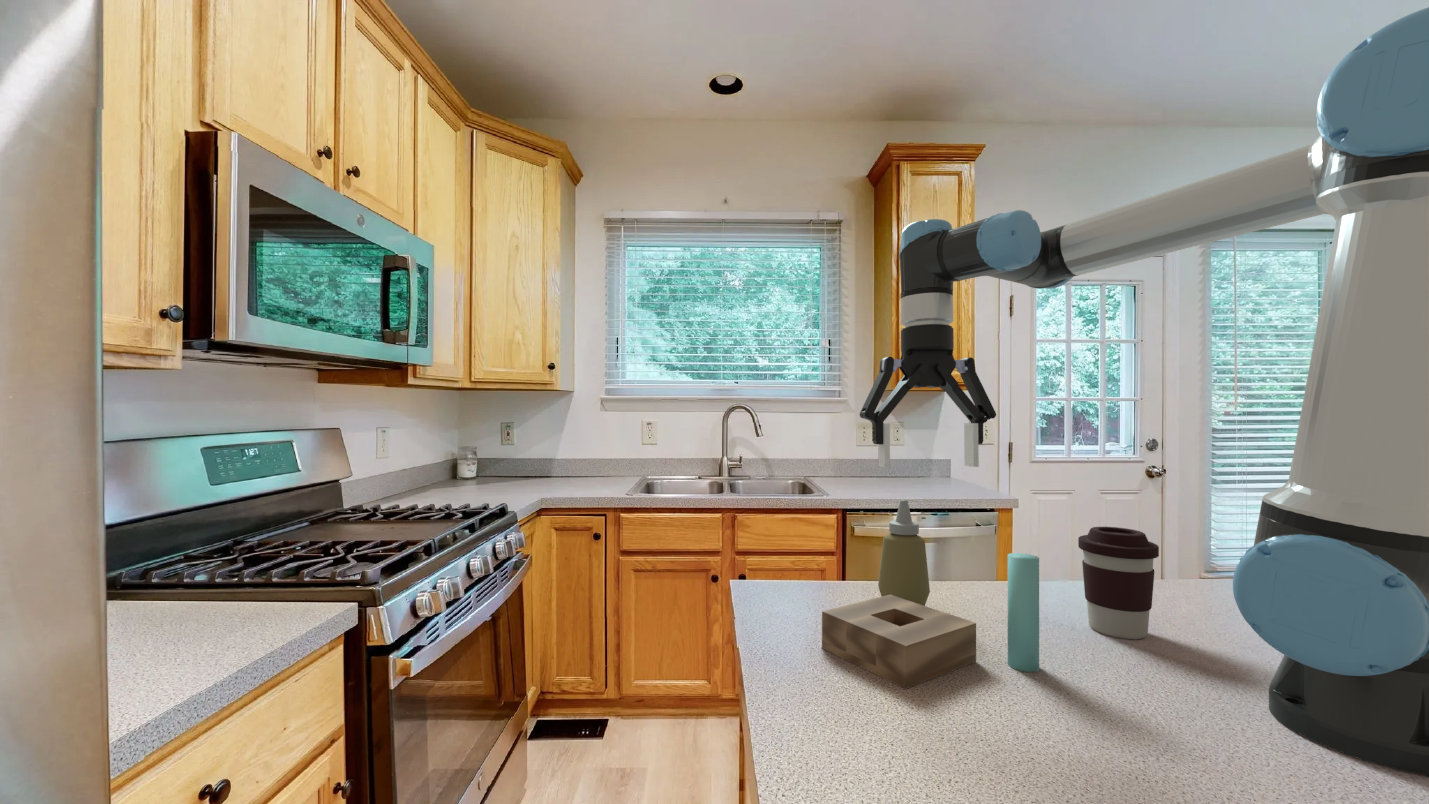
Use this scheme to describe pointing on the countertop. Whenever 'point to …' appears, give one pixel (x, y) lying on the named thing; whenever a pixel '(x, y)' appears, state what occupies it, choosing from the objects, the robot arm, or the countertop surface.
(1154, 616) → the countertop surface
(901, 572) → the squeeze bottle
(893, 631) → the bore block
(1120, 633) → the coffee cup
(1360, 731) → the robot arm
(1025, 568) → the pin
